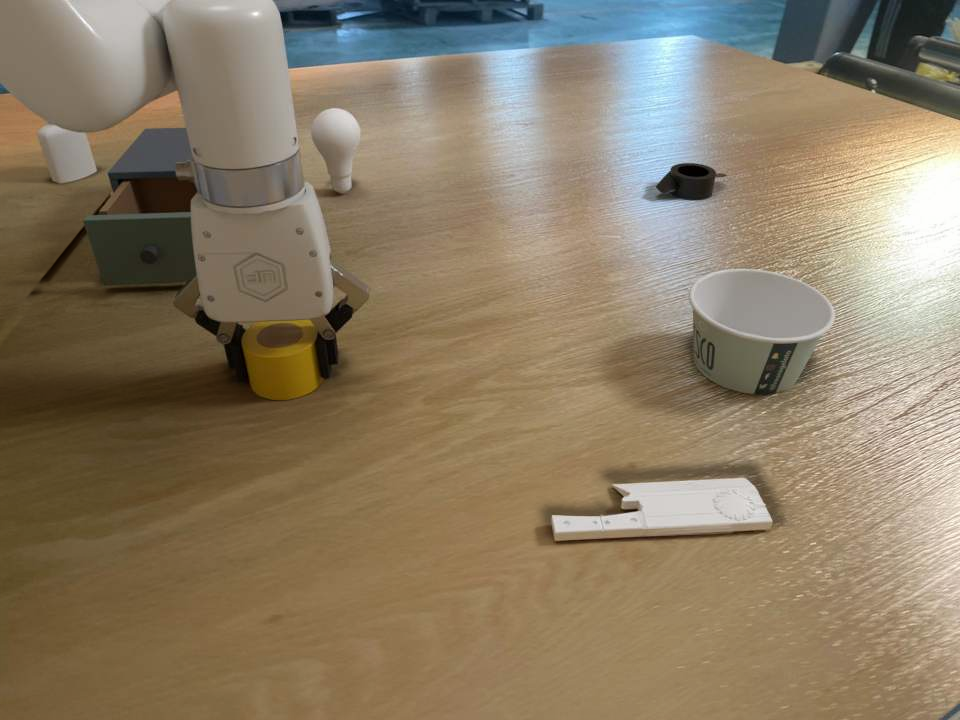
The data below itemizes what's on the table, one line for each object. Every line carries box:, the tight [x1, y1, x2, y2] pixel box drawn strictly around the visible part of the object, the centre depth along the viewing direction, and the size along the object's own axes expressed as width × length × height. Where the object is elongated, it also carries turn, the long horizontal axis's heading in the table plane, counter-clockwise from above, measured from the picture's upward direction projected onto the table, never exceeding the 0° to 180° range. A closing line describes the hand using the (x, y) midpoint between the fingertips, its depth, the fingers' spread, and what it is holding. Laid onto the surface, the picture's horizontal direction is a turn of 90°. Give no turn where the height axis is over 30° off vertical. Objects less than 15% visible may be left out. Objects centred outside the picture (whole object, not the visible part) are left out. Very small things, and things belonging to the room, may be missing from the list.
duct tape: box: [655, 162, 728, 201], centre depth 100 cm, size 8×10×3 cm
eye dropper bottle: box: [37, 122, 98, 184], centre depth 100 cm, size 4×6×12 cm
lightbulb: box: [310, 107, 362, 195], centre depth 97 cm, size 6×6×11 cm
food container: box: [688, 268, 836, 395], centre depth 67 cm, size 12×12×6 cm
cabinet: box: [107, 127, 192, 194], centre depth 91 cm, size 15×13×9 cm
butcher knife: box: [550, 477, 773, 542], centre depth 54 cm, size 5×15×1 cm, turn 94°
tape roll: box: [241, 320, 324, 401], centre depth 66 cm, size 6×6×5 cm
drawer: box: [82, 177, 197, 286], centre depth 82 cm, size 15×11×7 cm
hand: (286, 370), depth 66 cm, fingers closed on tape roll, 6 cm apart
